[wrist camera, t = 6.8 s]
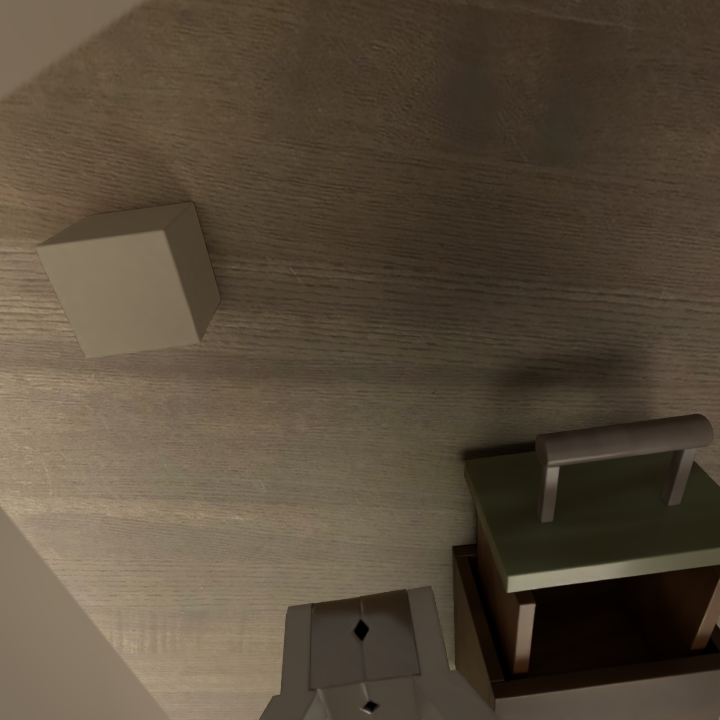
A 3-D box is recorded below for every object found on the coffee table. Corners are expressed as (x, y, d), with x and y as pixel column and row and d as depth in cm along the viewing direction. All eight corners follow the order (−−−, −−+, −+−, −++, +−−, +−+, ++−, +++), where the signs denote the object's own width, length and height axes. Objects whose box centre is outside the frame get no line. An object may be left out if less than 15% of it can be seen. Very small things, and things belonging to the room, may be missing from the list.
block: (87, 215, 20) (33, 246, 16) (193, 200, 20) (163, 229, 16) (126, 312, 22) (85, 360, 18) (221, 299, 22) (200, 344, 18)
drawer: (463, 386, 24) (512, 493, 18) (687, 356, 24) (814, 452, 18) (465, 606, 34) (498, 727, 27) (627, 584, 34) (698, 700, 27)
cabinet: (452, 546, 32) (494, 699, 24) (642, 521, 32) (747, 665, 24) (455, 666, 39) (489, 814, 31) (610, 645, 39) (682, 788, 31)
